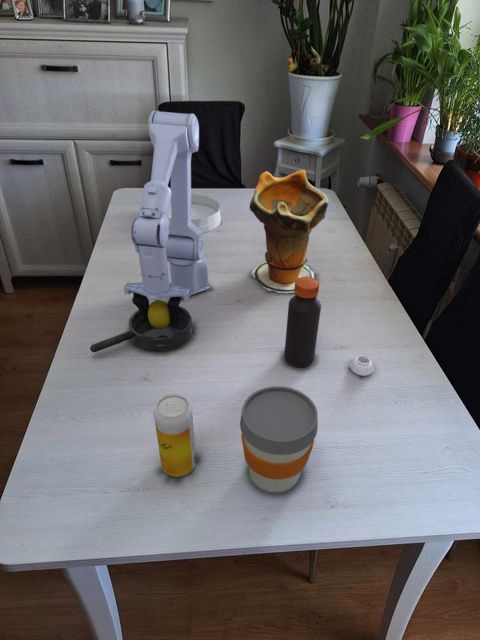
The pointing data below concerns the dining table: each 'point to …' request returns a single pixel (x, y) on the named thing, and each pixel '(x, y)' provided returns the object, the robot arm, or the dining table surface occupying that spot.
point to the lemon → (159, 314)
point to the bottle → (302, 323)
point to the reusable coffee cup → (277, 436)
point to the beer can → (175, 435)
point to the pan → (161, 332)
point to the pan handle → (111, 341)
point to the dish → (203, 212)
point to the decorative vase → (286, 227)
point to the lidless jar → (362, 365)
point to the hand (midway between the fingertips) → (160, 321)
